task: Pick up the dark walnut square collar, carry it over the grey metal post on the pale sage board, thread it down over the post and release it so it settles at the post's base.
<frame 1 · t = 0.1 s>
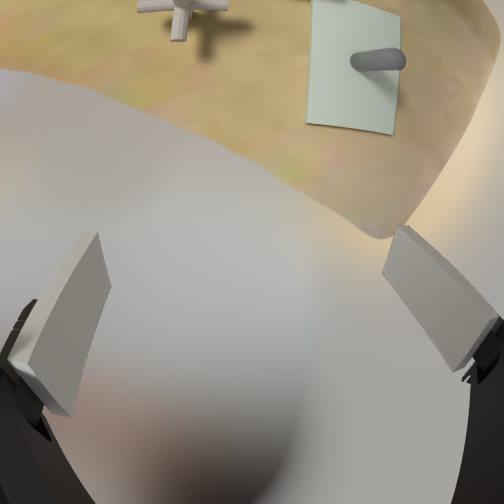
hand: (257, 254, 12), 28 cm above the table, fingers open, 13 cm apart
pipe connector: (186, 14, 25), on the table
post stand: (355, 62, 31), on the table
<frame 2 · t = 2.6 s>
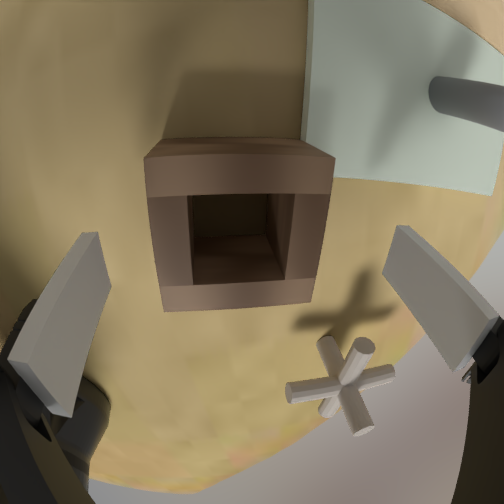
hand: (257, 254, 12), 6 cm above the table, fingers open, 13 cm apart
collar: (230, 202, 17), on the table
pipe connector: (324, 340, 26), on the table
post stand: (432, 93, 15), on the table
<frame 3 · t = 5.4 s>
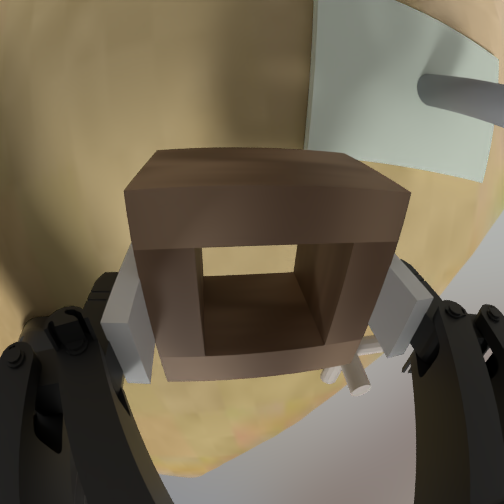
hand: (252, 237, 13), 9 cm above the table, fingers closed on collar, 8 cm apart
collar: (251, 233, 13), point 8 cm above the table, touching gripper
pipe connector: (327, 310, 29), on the table
post stand: (422, 88, 17), on the table
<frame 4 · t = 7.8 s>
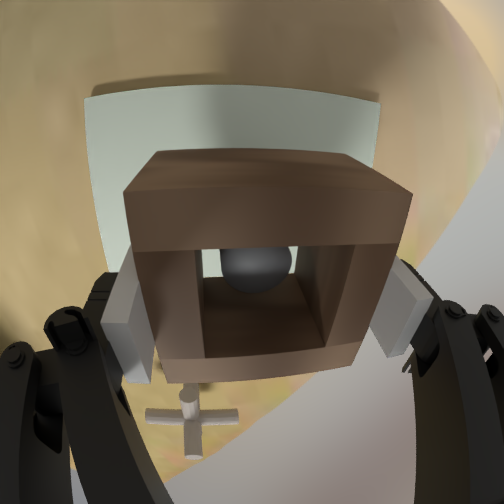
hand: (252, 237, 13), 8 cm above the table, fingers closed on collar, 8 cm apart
collar: (251, 234, 13), point 8 cm above the table, touching gripper
pipe connector: (190, 379, 31), on the table
post stand: (234, 185, 20), on the table
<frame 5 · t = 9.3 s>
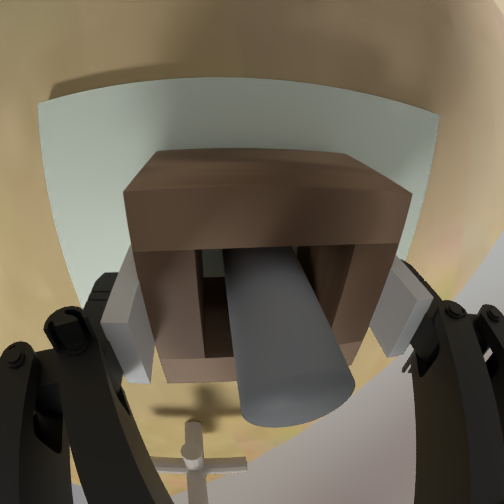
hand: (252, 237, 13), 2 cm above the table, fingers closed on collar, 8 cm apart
collar: (251, 234, 13), point 2 cm above the table, touching gripper
pipe connector: (193, 422, 26), on the table
post stand: (247, 220, 14), on the table
when the fingers open (2 cm above the table, at t = 10.3 s): collar stays where it is, resting on post stand.
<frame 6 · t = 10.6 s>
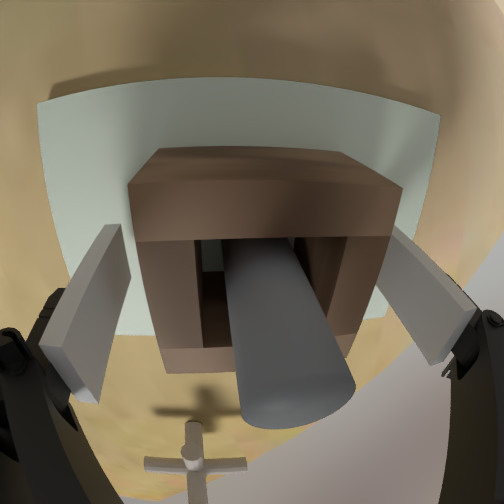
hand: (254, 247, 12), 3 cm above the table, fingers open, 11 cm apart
collar: (249, 230, 14), point 1 cm above the table, touching post stand
pipe connector: (193, 423, 26), on the table
post stand: (247, 221, 14), on the table
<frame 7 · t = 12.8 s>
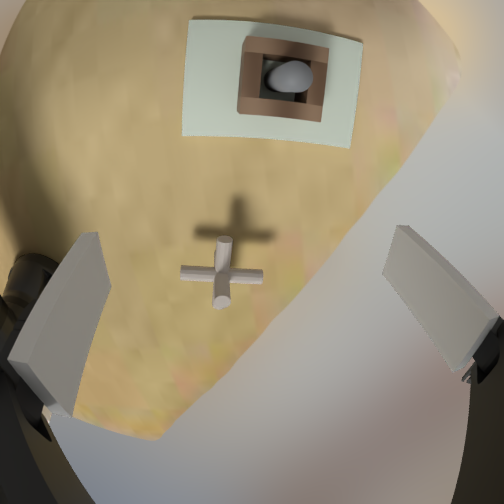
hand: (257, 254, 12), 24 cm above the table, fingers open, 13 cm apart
collar: (275, 80, 27), point 1 cm above the table, touching post stand
pipe connector: (220, 252, 39), on the table
post stand: (274, 80, 28), on the table
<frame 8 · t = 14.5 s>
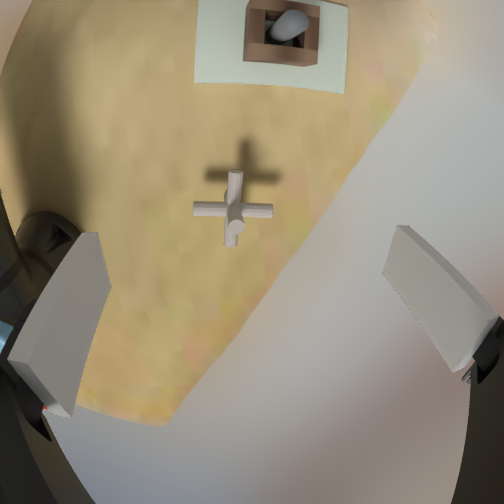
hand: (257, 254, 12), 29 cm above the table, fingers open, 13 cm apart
collar: (275, 36, 28), point 1 cm above the table, touching post stand
pipe connector: (230, 195, 40), on the table
post stand: (274, 37, 29), on the table
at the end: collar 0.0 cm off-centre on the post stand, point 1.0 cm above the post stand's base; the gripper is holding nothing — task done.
